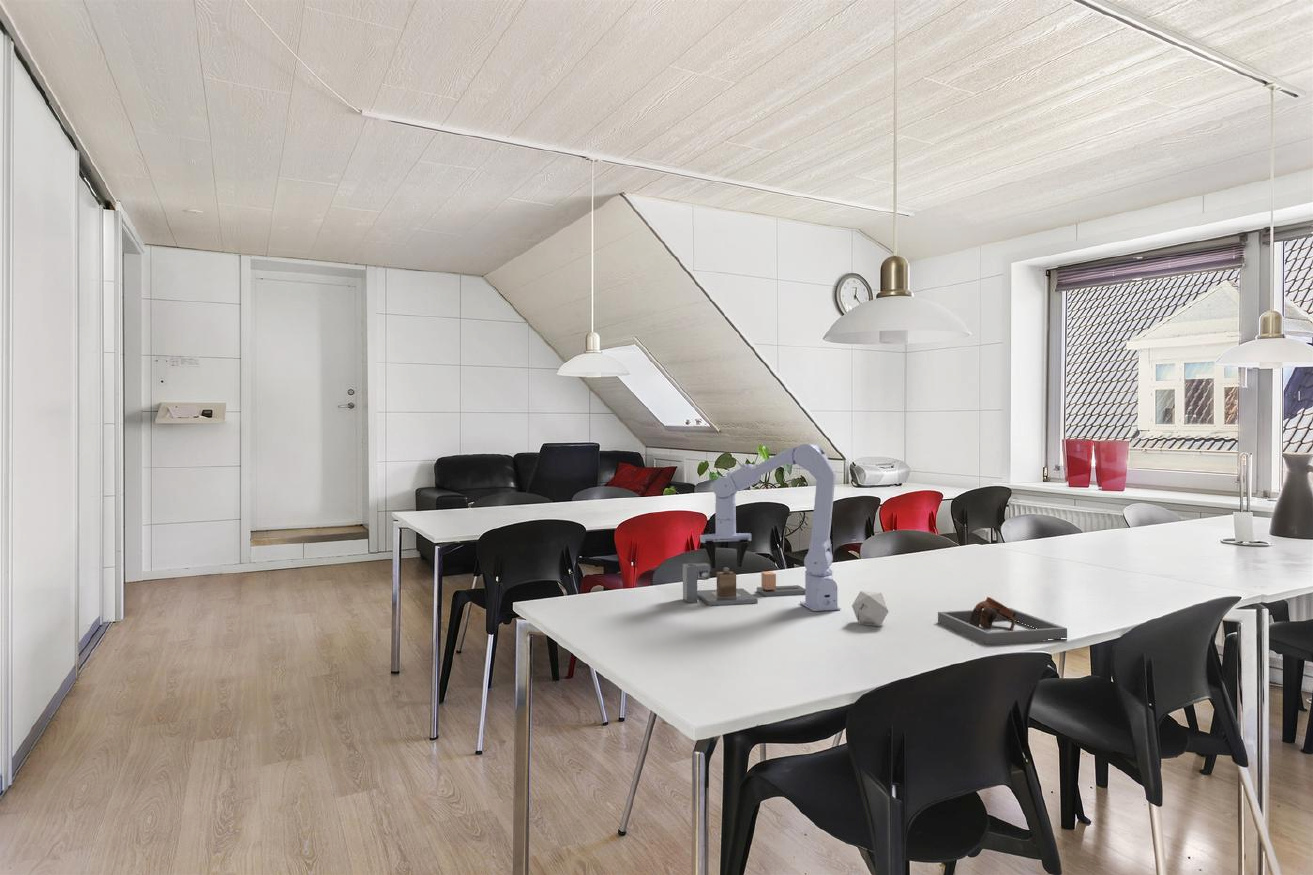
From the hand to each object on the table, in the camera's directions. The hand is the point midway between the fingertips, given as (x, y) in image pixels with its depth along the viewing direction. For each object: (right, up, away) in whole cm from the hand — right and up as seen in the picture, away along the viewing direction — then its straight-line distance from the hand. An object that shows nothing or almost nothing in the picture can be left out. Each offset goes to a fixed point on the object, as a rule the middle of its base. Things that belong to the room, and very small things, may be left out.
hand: (726, 567), depth 215 cm
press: (-2, -9, 0) cm, 9 cm away
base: (+17, -9, +7) cm, 20 cm away
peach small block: (+13, -7, +7) cm, 16 cm away
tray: (+62, -9, -35) cm, 71 cm away
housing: (0, -8, 0) cm, 8 cm away
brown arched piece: (+60, -9, -33) cm, 69 cm away
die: (+33, -9, -28) cm, 44 cm away
